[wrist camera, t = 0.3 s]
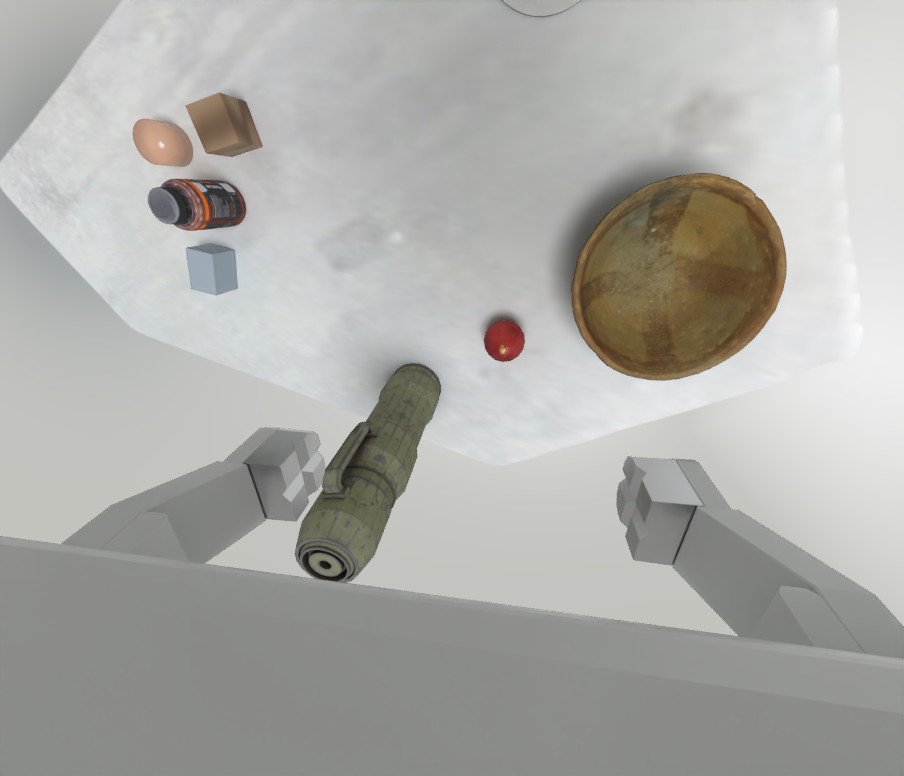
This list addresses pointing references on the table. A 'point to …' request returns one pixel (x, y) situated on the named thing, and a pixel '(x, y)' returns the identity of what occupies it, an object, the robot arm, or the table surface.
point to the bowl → (679, 277)
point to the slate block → (212, 268)
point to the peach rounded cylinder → (162, 143)
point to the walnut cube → (224, 125)
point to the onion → (504, 341)
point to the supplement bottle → (197, 204)
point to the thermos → (367, 478)
